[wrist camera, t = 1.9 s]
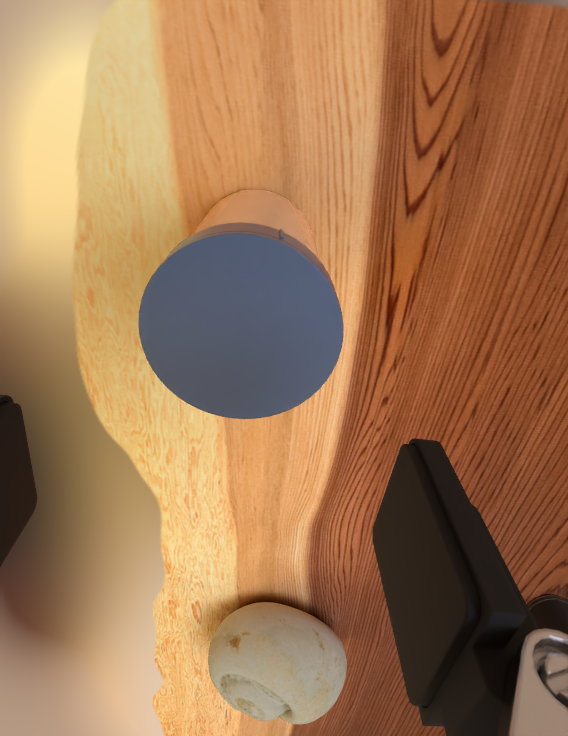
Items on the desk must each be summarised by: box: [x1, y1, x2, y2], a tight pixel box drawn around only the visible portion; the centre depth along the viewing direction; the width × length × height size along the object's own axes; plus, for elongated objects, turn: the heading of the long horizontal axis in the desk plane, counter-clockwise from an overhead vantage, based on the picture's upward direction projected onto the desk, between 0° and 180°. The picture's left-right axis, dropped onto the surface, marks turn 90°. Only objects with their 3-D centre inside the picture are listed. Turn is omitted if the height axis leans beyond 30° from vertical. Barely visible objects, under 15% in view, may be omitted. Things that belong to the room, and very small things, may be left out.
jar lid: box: [139, 222, 343, 419], centre depth 16 cm, size 7×7×2 cm
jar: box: [193, 189, 319, 259], centre depth 20 cm, size 6×6×10 cm
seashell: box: [208, 602, 347, 724], centre depth 39 cm, size 13×8×10 cm
